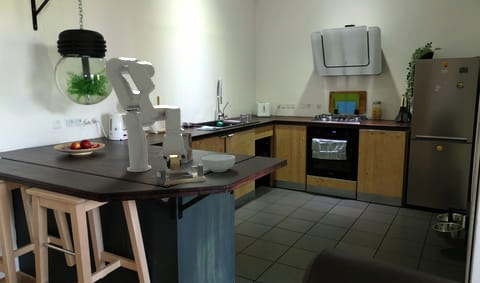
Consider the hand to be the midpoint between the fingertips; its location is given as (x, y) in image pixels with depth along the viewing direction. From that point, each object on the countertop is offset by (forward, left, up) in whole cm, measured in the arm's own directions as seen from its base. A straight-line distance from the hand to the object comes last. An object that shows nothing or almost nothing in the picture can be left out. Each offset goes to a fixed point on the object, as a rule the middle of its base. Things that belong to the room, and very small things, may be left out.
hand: (173, 167), depth 182 cm
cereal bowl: (+3, +23, -4) cm, 23 cm away
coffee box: (-28, +12, -4) cm, 31 cm away
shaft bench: (+13, 0, -3) cm, 13 cm away
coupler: (0, 0, 0) cm, 0 cm away
